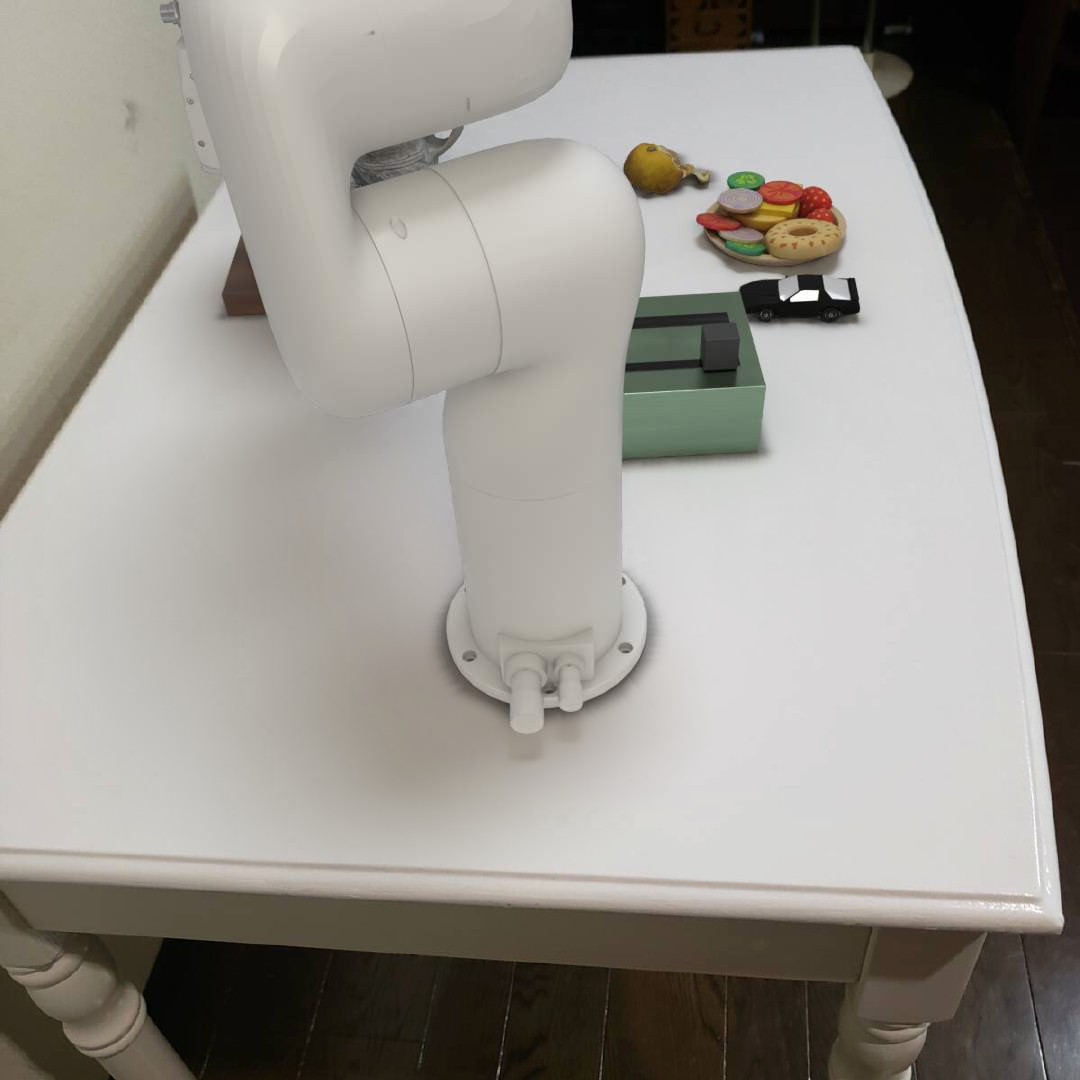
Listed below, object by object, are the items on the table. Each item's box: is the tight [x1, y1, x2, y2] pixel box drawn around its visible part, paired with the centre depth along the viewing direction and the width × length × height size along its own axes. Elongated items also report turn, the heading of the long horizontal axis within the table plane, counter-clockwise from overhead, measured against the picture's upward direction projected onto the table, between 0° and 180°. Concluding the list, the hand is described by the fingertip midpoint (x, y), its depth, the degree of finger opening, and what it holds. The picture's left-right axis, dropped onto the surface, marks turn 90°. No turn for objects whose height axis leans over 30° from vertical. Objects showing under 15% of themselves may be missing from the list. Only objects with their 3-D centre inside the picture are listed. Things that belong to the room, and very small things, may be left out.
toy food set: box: [695, 170, 848, 267], centre depth 102 cm, size 13×13×3 cm
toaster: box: [622, 290, 767, 460], centre depth 84 cm, size 12×12×6 cm
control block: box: [221, 233, 267, 317], centre depth 101 cm, size 12×10×4 cm
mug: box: [351, 125, 465, 187], centre depth 110 cm, size 10×12×10 cm
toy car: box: [738, 273, 861, 323], centre depth 93 cm, size 10×4×3 cm, turn 85°
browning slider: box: [700, 322, 740, 371], centre depth 79 cm, size 2×2×3 cm
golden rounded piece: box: [622, 142, 711, 195], centre depth 110 cm, size 8×8×4 cm
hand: (281, 229), depth 99 cm, fingers closed
